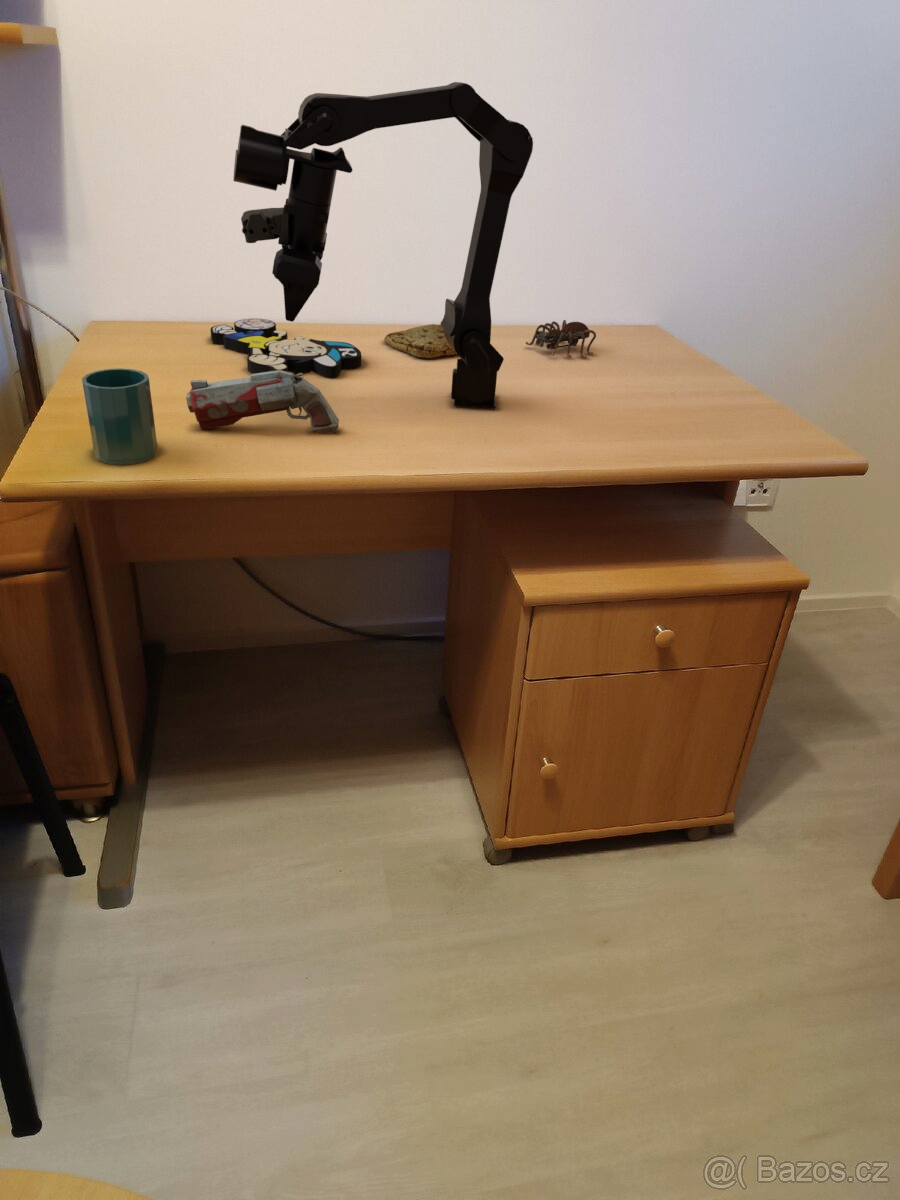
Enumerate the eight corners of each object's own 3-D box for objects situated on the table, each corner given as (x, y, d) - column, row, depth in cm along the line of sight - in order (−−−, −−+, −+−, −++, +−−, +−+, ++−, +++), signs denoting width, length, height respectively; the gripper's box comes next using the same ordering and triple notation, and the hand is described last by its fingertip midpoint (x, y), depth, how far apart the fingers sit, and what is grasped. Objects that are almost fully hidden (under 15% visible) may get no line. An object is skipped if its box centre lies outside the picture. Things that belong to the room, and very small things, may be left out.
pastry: (480, 339, 171) (482, 323, 169) (469, 365, 156) (470, 348, 154) (393, 330, 172) (393, 314, 171) (374, 355, 158) (374, 338, 156)
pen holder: (165, 443, 118) (156, 370, 113) (147, 466, 112) (137, 390, 106) (106, 440, 118) (95, 366, 113) (85, 463, 112) (72, 386, 106)
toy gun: (205, 444, 127) (185, 377, 122) (340, 424, 127) (326, 356, 122) (200, 456, 124) (179, 387, 118) (339, 435, 124) (324, 366, 118)
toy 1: (163, 367, 145) (337, 389, 141) (161, 355, 144) (337, 377, 140) (232, 325, 168) (383, 343, 164) (231, 315, 167) (383, 332, 163)
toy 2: (517, 345, 169) (519, 318, 166) (564, 338, 174) (567, 313, 172) (557, 363, 160) (561, 335, 157) (606, 355, 166) (610, 329, 163)
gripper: (257, 166, 125) (243, 275, 134) (241, 199, 110) (227, 319, 119) (335, 187, 127) (316, 292, 136) (329, 222, 112) (309, 338, 121)
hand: (292, 309), depth 128 cm, fingers open, 9 cm apart
